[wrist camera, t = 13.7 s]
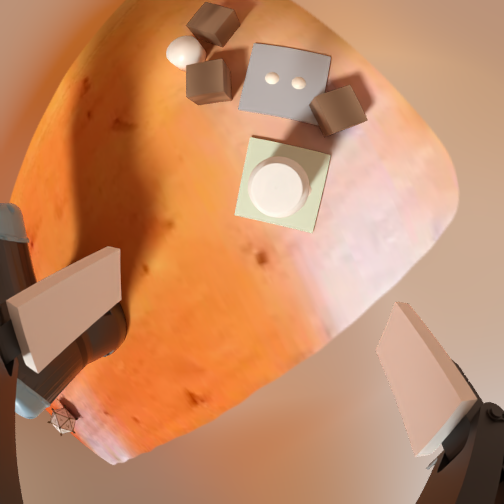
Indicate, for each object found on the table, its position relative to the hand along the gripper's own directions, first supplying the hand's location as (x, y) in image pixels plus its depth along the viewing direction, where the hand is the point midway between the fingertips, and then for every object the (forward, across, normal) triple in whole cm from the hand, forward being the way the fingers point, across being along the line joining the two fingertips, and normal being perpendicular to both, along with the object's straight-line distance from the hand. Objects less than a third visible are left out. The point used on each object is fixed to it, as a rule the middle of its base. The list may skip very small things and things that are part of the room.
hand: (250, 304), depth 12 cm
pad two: (+20, -1, +16) cm, 26 cm away
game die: (+22, -44, -60) cm, 77 cm away
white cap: (+20, -13, +19) cm, 31 cm away
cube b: (+18, -8, +22) cm, 30 cm away
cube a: (+20, -9, +15) cm, 27 cm away
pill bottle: (+20, 0, +4) cm, 20 cm away
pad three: (+20, 0, +4) cm, 21 cm away
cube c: (+20, +4, +13) cm, 24 cm away
